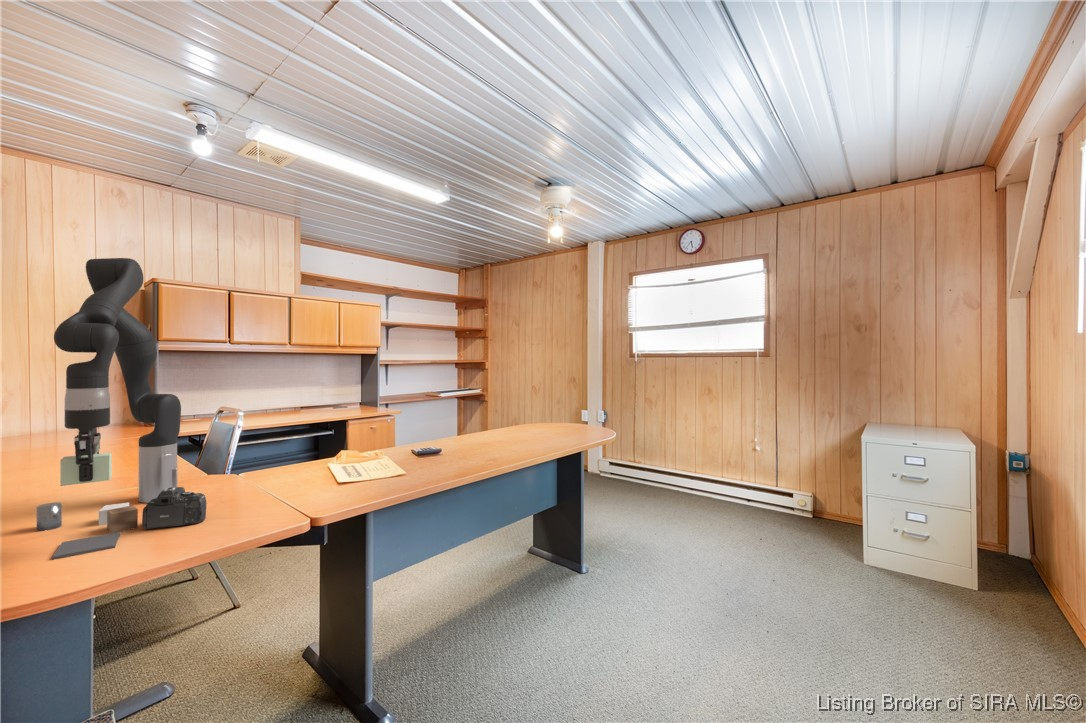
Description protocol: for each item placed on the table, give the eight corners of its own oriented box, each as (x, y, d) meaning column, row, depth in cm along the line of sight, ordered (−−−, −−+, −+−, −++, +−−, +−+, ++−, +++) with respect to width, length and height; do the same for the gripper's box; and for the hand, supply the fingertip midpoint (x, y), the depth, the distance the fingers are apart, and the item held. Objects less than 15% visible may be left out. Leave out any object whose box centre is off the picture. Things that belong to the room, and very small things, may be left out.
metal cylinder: (63, 523, 119) (63, 501, 118) (59, 528, 115) (59, 505, 115) (39, 527, 116) (38, 504, 116) (34, 532, 112) (34, 509, 112)
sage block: (111, 476, 108) (111, 452, 108) (109, 480, 105) (109, 455, 105) (64, 482, 103) (64, 456, 103) (60, 486, 100) (60, 459, 100)
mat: (120, 534, 112) (120, 531, 112) (114, 547, 104) (114, 545, 104) (62, 544, 105) (62, 541, 105) (52, 559, 98) (52, 556, 98)
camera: (203, 513, 127) (204, 478, 127) (208, 522, 120) (208, 486, 120) (141, 524, 118) (141, 487, 118) (142, 536, 111) (142, 496, 111)
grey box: (129, 516, 124) (129, 502, 124) (123, 522, 120) (123, 507, 120) (105, 519, 122) (105, 505, 122) (98, 525, 117) (98, 510, 117)
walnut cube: (132, 523, 119) (132, 505, 119) (137, 527, 116) (137, 509, 116) (107, 529, 115) (107, 510, 115) (111, 533, 112) (111, 514, 112)
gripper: (105, 408, 101) (105, 483, 101) (114, 403, 112) (114, 470, 112) (57, 411, 96) (57, 489, 96) (71, 405, 107) (71, 475, 108)
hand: (87, 478), depth 104 cm, fingers closed on sage block, 4 cm apart
